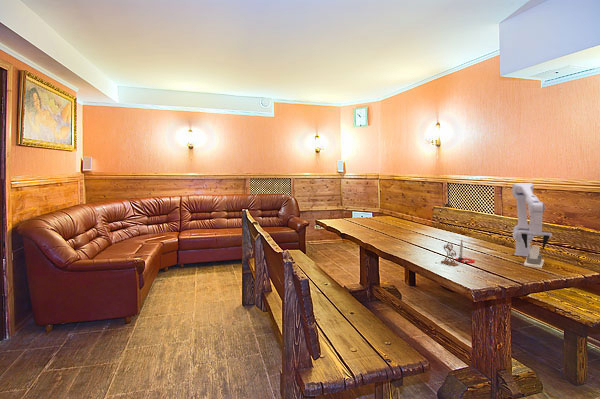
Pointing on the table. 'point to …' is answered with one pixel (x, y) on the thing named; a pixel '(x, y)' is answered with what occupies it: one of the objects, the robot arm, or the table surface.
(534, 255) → the white long rectangular piece
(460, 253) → the tow hook
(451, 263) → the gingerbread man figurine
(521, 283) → the table surface
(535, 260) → the peg rack
